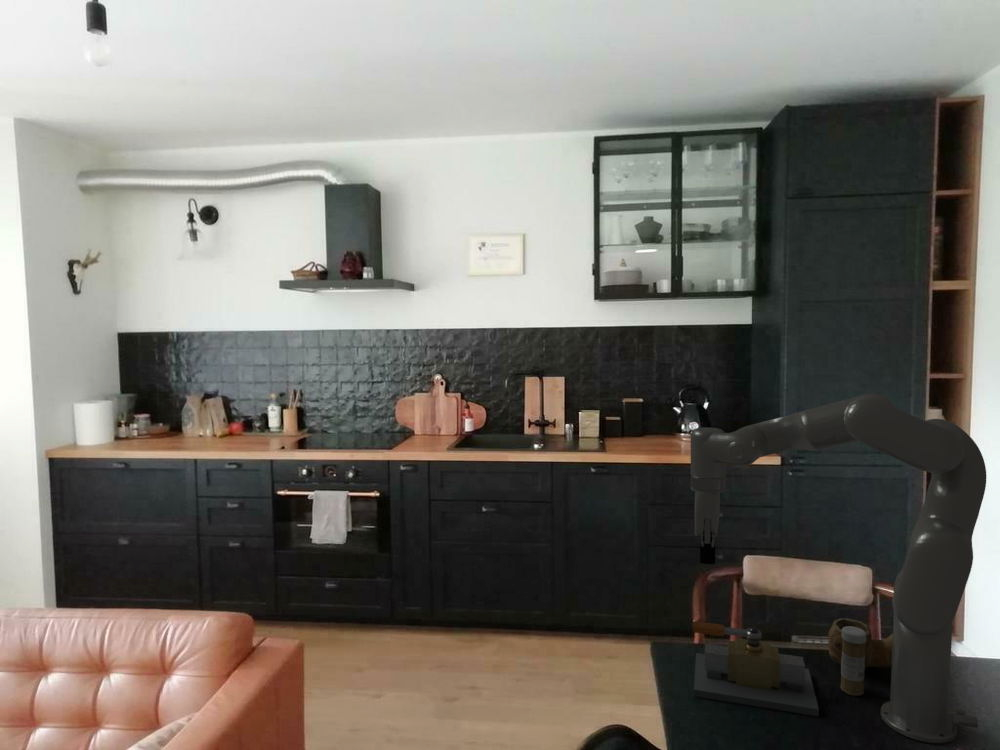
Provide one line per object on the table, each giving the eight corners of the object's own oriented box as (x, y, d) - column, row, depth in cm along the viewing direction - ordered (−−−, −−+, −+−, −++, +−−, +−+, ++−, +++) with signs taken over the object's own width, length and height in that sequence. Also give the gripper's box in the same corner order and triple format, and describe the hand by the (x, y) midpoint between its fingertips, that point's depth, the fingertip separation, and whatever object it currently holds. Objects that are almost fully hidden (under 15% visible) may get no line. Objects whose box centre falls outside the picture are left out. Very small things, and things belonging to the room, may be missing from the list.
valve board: (808, 675, 147) (808, 668, 147) (818, 716, 132) (818, 709, 132) (696, 659, 155) (696, 653, 155) (693, 696, 140) (693, 689, 140)
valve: (801, 677, 144) (802, 636, 143) (805, 695, 137) (806, 651, 136) (704, 663, 150) (705, 623, 149) (704, 679, 143) (704, 638, 142)
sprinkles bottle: (852, 683, 144) (854, 624, 143) (869, 695, 139) (871, 633, 138) (834, 686, 143) (836, 626, 142) (851, 698, 138) (853, 636, 137)
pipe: (915, 682, 144) (917, 638, 143) (835, 677, 147) (837, 633, 146) (897, 661, 153) (899, 619, 152) (822, 656, 156) (824, 615, 155)
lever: (761, 634, 144) (761, 626, 143) (762, 641, 141) (762, 633, 140) (693, 626, 148) (693, 618, 148) (693, 633, 145) (693, 624, 145)
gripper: (691, 474, 157) (691, 550, 158) (689, 490, 143) (689, 573, 144) (725, 476, 155) (724, 553, 156) (725, 492, 140) (725, 576, 142)
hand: (707, 562), depth 150 cm, fingers closed
